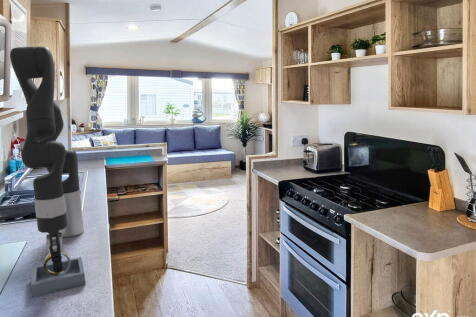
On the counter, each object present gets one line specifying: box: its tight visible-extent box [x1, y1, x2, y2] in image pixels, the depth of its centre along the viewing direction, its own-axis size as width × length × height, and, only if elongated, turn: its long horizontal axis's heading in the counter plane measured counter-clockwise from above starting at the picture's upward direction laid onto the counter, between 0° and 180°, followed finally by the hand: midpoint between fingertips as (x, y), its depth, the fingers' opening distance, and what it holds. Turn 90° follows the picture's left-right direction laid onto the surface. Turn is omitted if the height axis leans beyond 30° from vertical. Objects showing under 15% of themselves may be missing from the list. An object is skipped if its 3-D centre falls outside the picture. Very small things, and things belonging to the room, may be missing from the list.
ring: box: [42, 251, 72, 276], centre depth 102 cm, size 7×3×8 cm, turn 110°
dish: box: [30, 256, 86, 298], centre depth 102 cm, size 12×13×4 cm
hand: (58, 270), depth 102 cm, fingers closed
